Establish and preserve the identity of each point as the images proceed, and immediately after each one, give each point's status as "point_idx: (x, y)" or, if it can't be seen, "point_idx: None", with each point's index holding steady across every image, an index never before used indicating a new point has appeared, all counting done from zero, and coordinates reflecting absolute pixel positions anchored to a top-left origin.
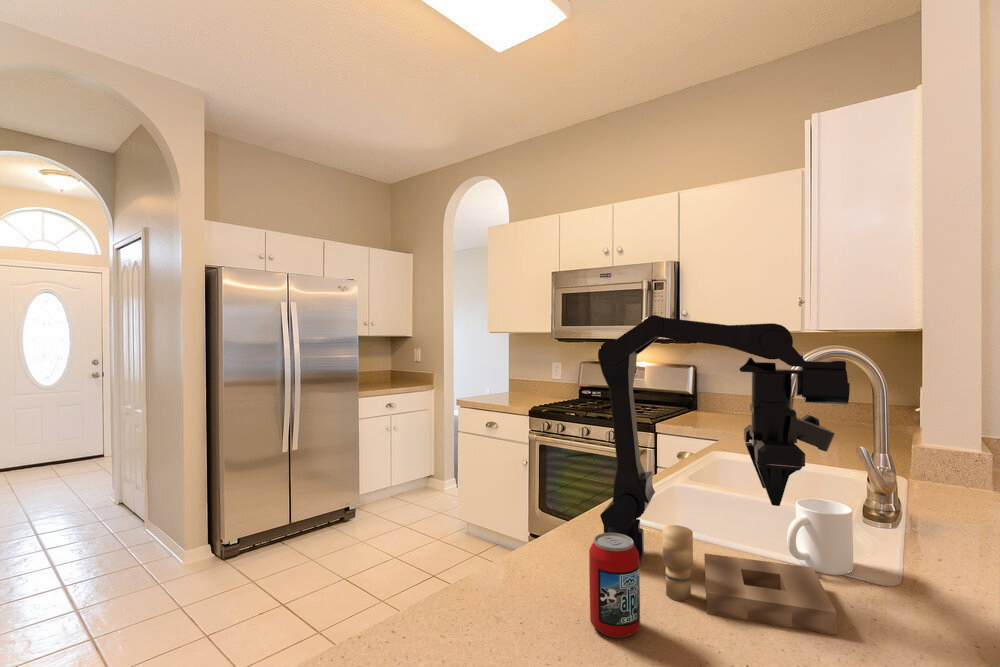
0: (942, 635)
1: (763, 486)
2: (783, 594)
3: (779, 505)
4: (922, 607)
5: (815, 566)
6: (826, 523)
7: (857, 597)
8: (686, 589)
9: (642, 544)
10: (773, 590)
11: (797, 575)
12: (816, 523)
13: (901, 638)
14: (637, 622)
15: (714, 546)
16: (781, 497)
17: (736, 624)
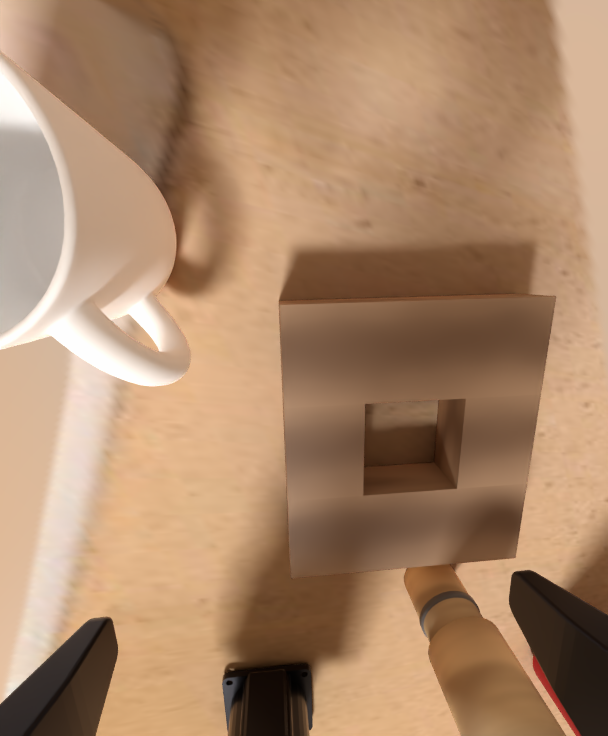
0: (458, 23)
1: (114, 663)
2: (488, 406)
3: (534, 572)
4: (304, 5)
5: (168, 276)
6: (106, 219)
7: (304, 192)
8: (458, 580)
9: (283, 701)
10: (471, 427)
11: (357, 358)
12: (103, 268)
13: (496, 146)
14: None
15: (107, 529)
16: (605, 618)
17: None
